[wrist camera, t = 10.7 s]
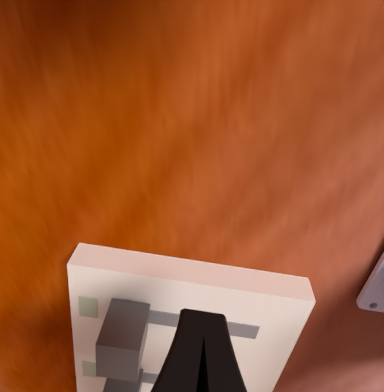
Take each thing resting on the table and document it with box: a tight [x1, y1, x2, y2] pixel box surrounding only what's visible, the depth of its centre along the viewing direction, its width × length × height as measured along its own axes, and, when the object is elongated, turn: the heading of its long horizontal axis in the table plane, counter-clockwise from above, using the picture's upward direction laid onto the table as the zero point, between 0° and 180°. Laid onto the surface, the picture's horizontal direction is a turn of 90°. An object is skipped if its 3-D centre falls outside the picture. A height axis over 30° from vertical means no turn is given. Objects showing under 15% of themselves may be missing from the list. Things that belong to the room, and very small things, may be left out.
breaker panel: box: [67, 243, 316, 392], centre depth 26 cm, size 15×21×2 cm
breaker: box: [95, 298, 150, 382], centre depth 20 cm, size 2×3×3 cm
